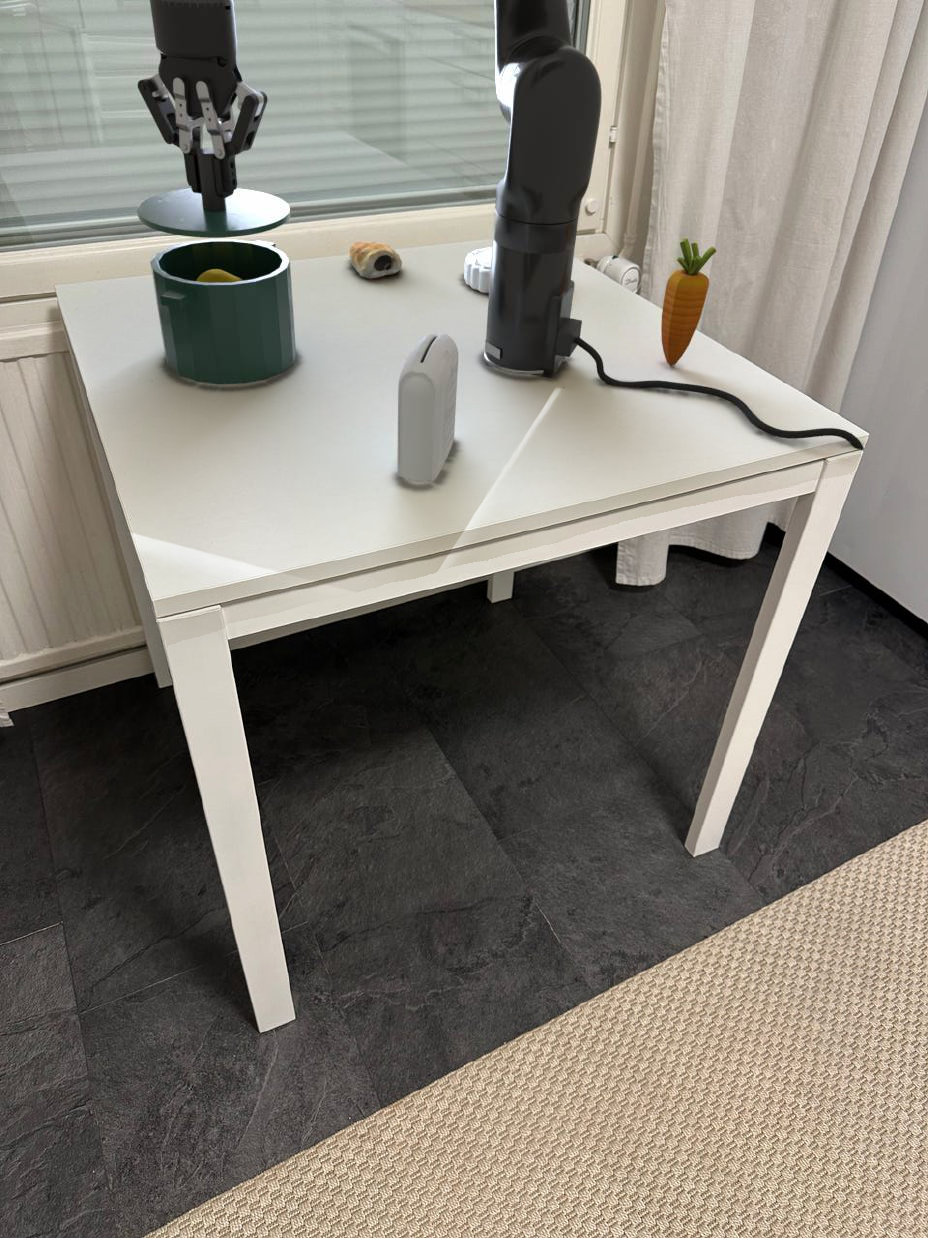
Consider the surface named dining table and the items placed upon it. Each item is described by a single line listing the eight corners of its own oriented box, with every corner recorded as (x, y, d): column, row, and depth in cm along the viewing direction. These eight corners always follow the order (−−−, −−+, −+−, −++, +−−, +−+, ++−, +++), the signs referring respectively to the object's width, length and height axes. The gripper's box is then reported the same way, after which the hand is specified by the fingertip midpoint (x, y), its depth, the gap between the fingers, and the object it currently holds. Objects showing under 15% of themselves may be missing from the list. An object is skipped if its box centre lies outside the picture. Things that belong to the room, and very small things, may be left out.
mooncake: (549, 299, 128) (552, 273, 126) (463, 294, 128) (464, 268, 125) (544, 270, 137) (547, 245, 135) (464, 265, 137) (465, 240, 134)
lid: (315, 211, 101) (312, 145, 97) (243, 253, 90) (237, 179, 86) (192, 190, 105) (183, 125, 101) (107, 228, 93) (94, 156, 89)
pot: (326, 340, 113) (322, 244, 106) (244, 409, 98) (232, 303, 91) (222, 320, 117) (211, 225, 109) (127, 382, 102) (106, 278, 94)
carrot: (698, 366, 113) (727, 241, 104) (676, 378, 110) (704, 250, 101) (665, 353, 116) (690, 229, 106) (642, 364, 113) (666, 238, 103)
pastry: (338, 259, 136) (337, 232, 134) (380, 254, 139) (380, 228, 136) (364, 280, 130) (364, 253, 127) (407, 275, 132) (408, 248, 130)
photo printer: (418, 433, 96) (421, 318, 88) (458, 439, 96) (464, 324, 88) (391, 483, 89) (392, 361, 81) (435, 490, 88) (440, 368, 80)
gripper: (101, -11, 84) (134, 192, 95) (237, 5, 80) (255, 213, 91) (149, -17, 89) (175, 175, 100) (278, -3, 86) (290, 194, 97)
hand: (213, 192), depth 96 cm, fingers closed on lid, 2 cm apart
